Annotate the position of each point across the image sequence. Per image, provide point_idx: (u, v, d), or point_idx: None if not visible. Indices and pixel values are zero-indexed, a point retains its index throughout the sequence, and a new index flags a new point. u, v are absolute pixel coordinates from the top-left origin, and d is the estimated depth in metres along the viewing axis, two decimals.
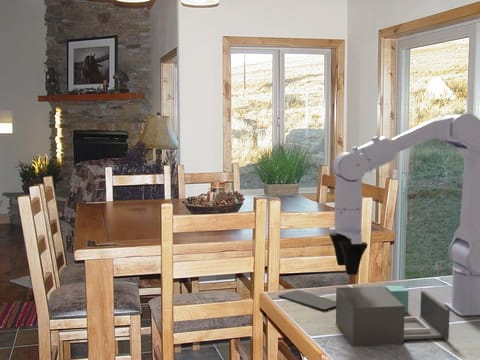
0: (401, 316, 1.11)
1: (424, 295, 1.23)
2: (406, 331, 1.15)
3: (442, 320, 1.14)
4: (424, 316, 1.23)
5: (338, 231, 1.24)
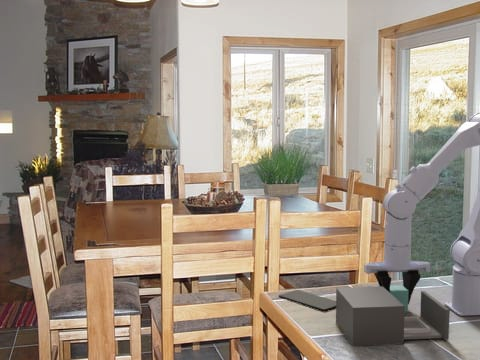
0: (401, 316, 1.11)
1: (424, 295, 1.23)
2: (406, 331, 1.15)
3: (442, 320, 1.14)
4: (424, 316, 1.23)
5: None
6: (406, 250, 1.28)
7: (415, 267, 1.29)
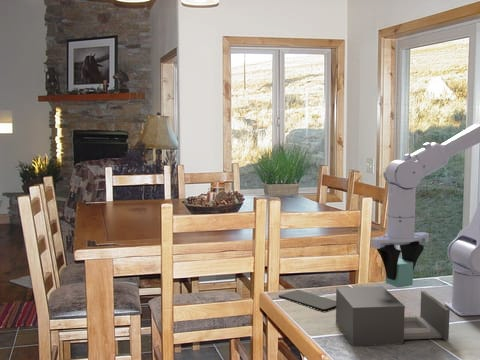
0: (401, 316, 1.11)
1: (424, 295, 1.23)
2: (406, 331, 1.15)
3: (442, 320, 1.14)
4: (424, 316, 1.23)
5: None
6: (413, 221, 1.24)
7: (419, 238, 1.26)
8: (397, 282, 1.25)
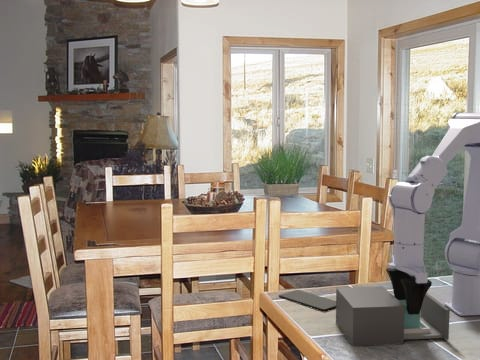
0: (401, 316, 1.11)
1: None
2: (406, 331, 1.15)
3: (442, 320, 1.14)
4: (424, 316, 1.23)
5: (399, 268, 1.15)
6: None
7: None
8: (418, 325, 1.17)
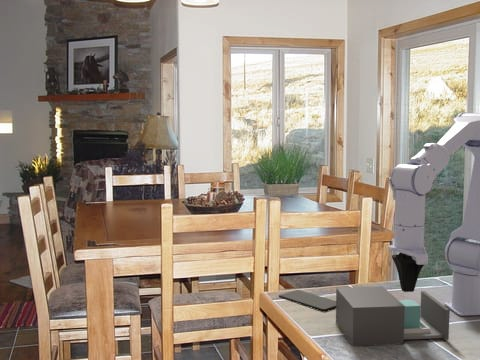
0: (401, 316, 1.11)
1: (424, 295, 1.23)
2: (406, 331, 1.15)
3: (442, 320, 1.14)
4: (424, 316, 1.23)
5: (400, 250, 1.14)
6: None
7: None
8: (418, 325, 1.17)
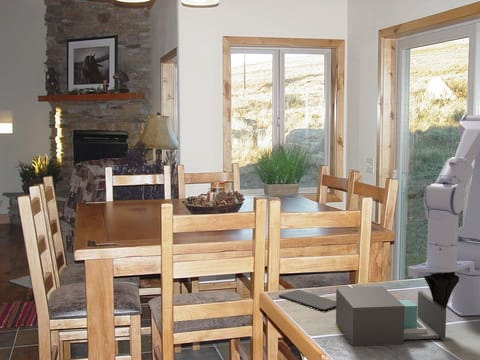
0: (401, 316, 1.11)
1: (421, 295, 1.22)
2: None
3: (439, 320, 1.14)
4: (421, 316, 1.23)
5: None
6: (455, 249, 1.15)
7: (462, 267, 1.17)
8: (415, 325, 1.16)
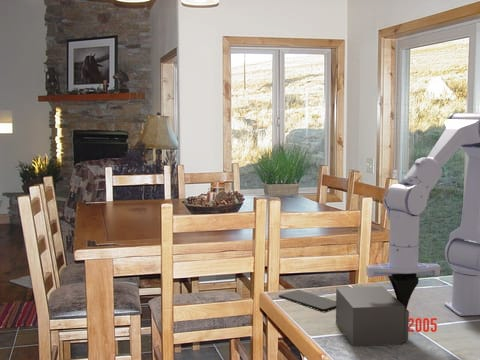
0: (401, 316, 1.11)
1: None
2: None
3: None
4: None
5: None
6: (413, 251, 1.14)
7: (423, 270, 1.15)
8: None
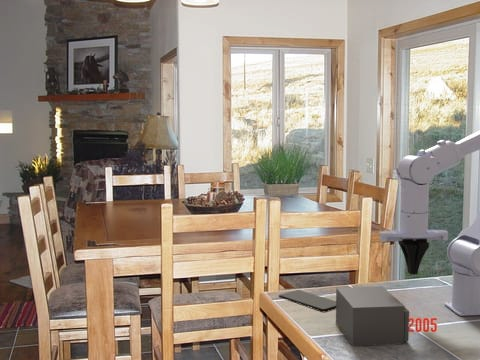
0: (401, 316, 1.11)
1: None
2: None
3: None
4: None
5: None
6: (423, 217, 1.23)
7: (432, 235, 1.24)
8: None
